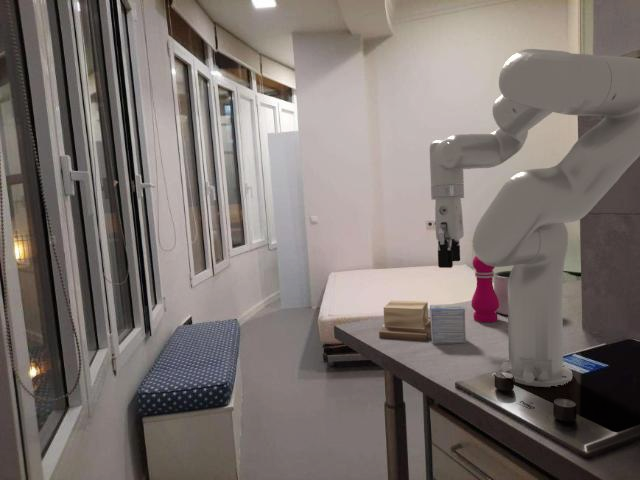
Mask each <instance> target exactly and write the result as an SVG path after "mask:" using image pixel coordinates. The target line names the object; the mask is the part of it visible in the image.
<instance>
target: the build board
mask: <svg viewBox="0 0 640 480" xmlns="http://www.w3.org/2000/svg"><path fill="white" fill-rule="evenodd" d="M381 327H382V328H381V329H380V330H379V332H378V336H379V338H382V339H392V340H393V339H395V340H396V339H397V340H409V341H412V340H413V341H422V342H423V341H424V342H426V341H428V340H429V338H430V337H431V316H428V321H427V322H426V324H425V325H424V327H423V328H410V327H393V326H384V324H382V326H381Z"/></svg>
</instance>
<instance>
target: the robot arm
mask: <svg viewBox="0 0 640 480" xmlns="http://www.w3.org/2000/svg"><path fill="white" fill-rule="evenodd" d="M498 88H499V91H500V94H501V95H500V96H499V97H498V98H496V100H495V101H494V103H493V105H492V116H493V119H494V121H495V124H496V125H497V126H498V128H497V129H496V130H494V131H493V132H491V133H469V134H467V133H465V134H463V133H462V134H454V135H451V136H448V137H446V138H445V139H438V140H434V141H432V142H431V143H430V145H429V171H430V196H431V200H432V201H433V200H435V203H434V204H435V207H434V210H435V211H434V212H435V213H434V214H435V220H434V221H435V222H434V223H435V238H436V240H437V264H438V265H437V266H438V268H442V269H443V268H445V269H446V268H447V269H451V268H453V267H454V264H453V263H454V262H460V261H461V245H460V240H461V239H462V238H463V237H464V235H465V234H464V222H463V221H464V218H463V208H462V200H461V199H465V189H464V188H465V186H464V178H465V177H464V170H471V169H473V170H474V169H490V168H491V169H492V168H495V167H497V166H500V165H502V164H504V163H505V162H506V161H508V160H509V159H510V158H512V157H513V156H515V155H516V154H517V153H519V152H520V150H521V149H523V147H524V145H525V143H526V140H527V138H528V134H529V131H530V130H531V129H532V128H534V127H535V126H536V125H537V124H539V123H540V122H541V121H543V120H544V119H546V118H547V117H548V116H550V115H551V114H553V113H556V114H561V115H565V116H566V115H568V116H581V117H582V116H585V117H586V116H587V117H589V116H591V117H593V116H597V117H598V116H599V117H600V116H601V117H603V118H602V119H601V120H600V121H599V122H598V123H597V124H595V125H594V126H593V127H592V128H590V129H589V130H587V132H585V133H584V134H582V135H581V136H580V137H579V138H578V140H577V141H575V143H574V144H573V145H572V147H571V148H570V150H569V151H568V153H566V155H565V156H564V157H563V159H561V161H560V162H559V163H557V164H556V165H554V166H551V167H545V168H544V167H543V168H532V169H525V170H523V171H520V172H518V173H515V174H514V175H512V176H511V177H510V178H509V179H508V180H506V182H505V183H504V184H503V186H502V187H501V188H500V189H499V191H498V193H497V194H496V196H495V197H494V199H493V200H492V201H491V203H490V205H489V206H488V208H487V209H486V211H485V212H484V213H483V215H482V216H481V218H480V220H479V221H478V223H477V225H476V227H475V230H474V232H473V237H472V246H473V250H474V254H475V256H477V257H478V259H479V260H480V261H482V262H483V263H485V264H486V265H489V266H493V267H495V268H502V267H511V266H513V267H512V268H511V270H510V271H511V273H510V276H509V280H508V316H507V324H508V325H507V330H508V331H507V332H508V360H506V361H504V362H503V363H502V364H501V365H500V373H501V372H509V373H511V374H513V375H514V379H515V382H514V383H517V384H521V385H524V386H531V387H536V388H537V387H538V388H539V387H540V388H552V387H551V386H555V387H559V386H558V385H561V386H565V385H567V384H569V383H570V382H572V381H573V372H572V369H570V368H569V367H568V366H566V365H565V364H564V350H563V349H564V345H563V344H564V342H563V341H564V334H563V333H564V332H563V329H564V327H563V325H564V324H563V321H564V318H563V285H564V284H563V278H564V269H565V268H564V265H565V260H566V255H567V251H568V244H569V233H568V228H567V226H566V224H567V223H574V222H576V221H579V220H581V219H583V218H584V217H585V216H586V215H588V214H589V212H591V210H593V208H594V207H595V206H596V205H597V204H598V203H599V202H600V201H601V200H602V198H603V197H604V196H605V195H606V194H607V193H608V192H609V190H610V189H611V188H612V187H613V186H614V185H615V184H616V183H617V182H618V180H619V179H620V178H621V177H622V176H623V174H624V173H626V171H627V170H628V168H629V167H631V165H633V163H634V162H635V161H637V159H638V158H639V157H640V58H638V57H632V56H631V57H630V56H619V55H615V56H613V55H600V54H589V53H588V54H586V53H585V54H584V53H571V52H568V51H564V50H552V49H538V48H537V49H536V48H527V49H522V50H520V51H519V50H518V52H516V53H514V54H513V55H511V56H510V57H509V58H508V59H507V61H505V62H504V64H503V66H502V68H501V70H500V73H499V76H498ZM569 381H570V382H569ZM568 382H569V383H568ZM566 383H567V384H566ZM564 384H565V385H564Z"/></svg>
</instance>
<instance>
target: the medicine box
mask: <svg viewBox="0 0 640 480" xmlns="http://www.w3.org/2000/svg"><path fill="white" fill-rule="evenodd" d="M429 309H430V310H429V313H430V317H431V335H430V337H431V344H434V345H436V344H466V343H467V337H466V336H467V335H466V308H465V307H464V304H461V303H460V304H458V303H456V304H453V303H452V304H451V303H449V304H431V305H430V306H429Z"/></svg>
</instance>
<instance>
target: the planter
mask: <svg viewBox="0 0 640 480" xmlns="http://www.w3.org/2000/svg"><path fill="white" fill-rule="evenodd" d="M510 273H511V270H504V271H497V272H494V273H493V274H494V277H493V288H494V291H495V293H496V295H497V297H498V301H499V308H498V309H497V310H496V311H495V312H496V313H497V314H500V315H502V316H506V317H508V280H509V276H510Z"/></svg>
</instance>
